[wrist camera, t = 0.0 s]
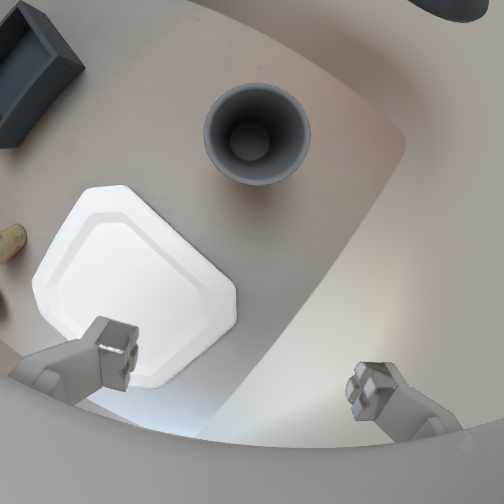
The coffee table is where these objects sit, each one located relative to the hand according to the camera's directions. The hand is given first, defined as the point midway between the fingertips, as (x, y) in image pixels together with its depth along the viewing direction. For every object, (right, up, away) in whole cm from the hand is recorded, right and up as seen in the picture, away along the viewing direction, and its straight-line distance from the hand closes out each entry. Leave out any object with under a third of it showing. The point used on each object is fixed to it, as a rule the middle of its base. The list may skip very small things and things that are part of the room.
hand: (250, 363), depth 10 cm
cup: (0, +16, +22) cm, 28 cm away
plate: (-17, -2, +28) cm, 33 cm away
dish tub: (-31, +28, +17) cm, 45 cm away
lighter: (-36, +6, +24) cm, 43 cm away
